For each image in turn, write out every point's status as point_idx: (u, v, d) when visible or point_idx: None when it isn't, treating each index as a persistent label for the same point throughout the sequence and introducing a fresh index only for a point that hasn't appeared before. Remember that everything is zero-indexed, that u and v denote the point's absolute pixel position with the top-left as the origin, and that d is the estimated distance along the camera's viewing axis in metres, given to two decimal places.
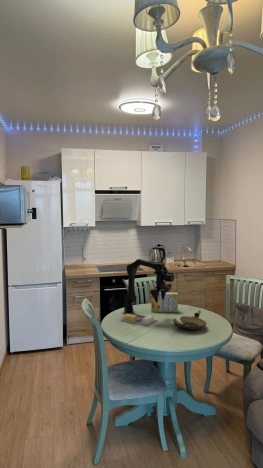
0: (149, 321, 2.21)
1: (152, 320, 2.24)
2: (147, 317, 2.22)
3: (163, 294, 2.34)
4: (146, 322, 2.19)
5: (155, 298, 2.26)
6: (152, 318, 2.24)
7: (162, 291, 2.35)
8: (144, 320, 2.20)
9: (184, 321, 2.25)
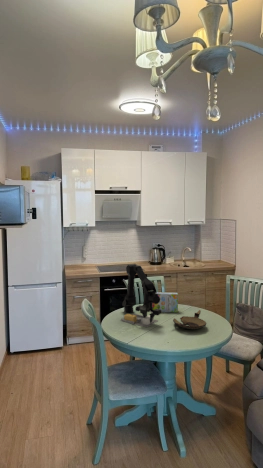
0: (149, 321, 2.21)
1: (152, 320, 2.24)
2: (147, 317, 2.22)
3: None
4: (146, 322, 2.19)
5: None
6: None
7: None
8: (144, 320, 2.20)
9: (184, 321, 2.25)
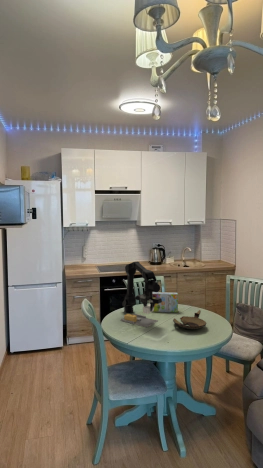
0: (149, 310, 2.20)
1: None
2: (147, 306, 2.22)
3: None
4: (146, 311, 2.19)
5: None
6: None
7: None
8: (144, 309, 2.20)
9: (184, 321, 2.25)
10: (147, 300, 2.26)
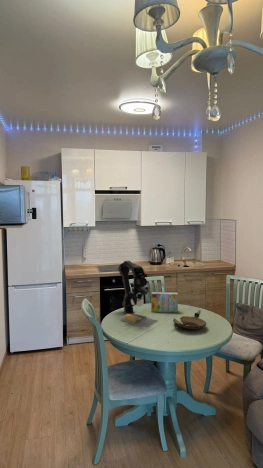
0: None
1: None
2: (138, 299, 2.32)
3: (139, 298, 2.35)
4: (142, 303, 2.32)
5: (134, 300, 2.30)
6: None
7: (138, 295, 2.35)
8: (141, 302, 2.30)
9: (184, 321, 2.25)
10: None
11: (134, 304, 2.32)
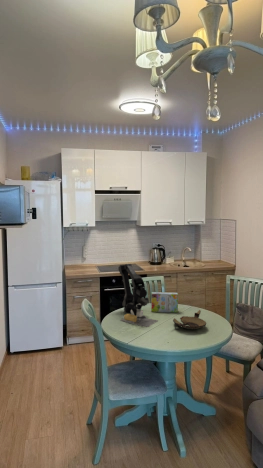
0: None
1: None
2: (137, 310, 2.33)
3: (139, 308, 2.35)
4: (142, 314, 2.32)
5: (134, 311, 2.31)
6: None
7: (138, 305, 2.36)
8: (141, 313, 2.31)
9: (184, 321, 2.25)
10: None
11: None
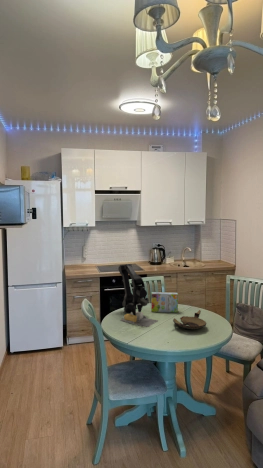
0: None
1: None
2: (137, 312, 2.33)
3: (140, 308, 2.36)
4: (142, 316, 2.32)
5: (133, 312, 2.30)
6: None
7: (139, 305, 2.37)
8: (141, 315, 2.31)
9: (184, 321, 2.25)
10: None
11: None
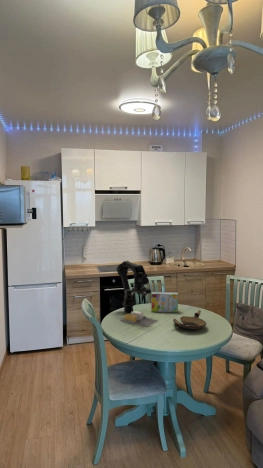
0: None
1: None
2: (137, 312, 2.33)
3: (142, 297, 2.35)
4: (142, 316, 2.32)
5: (132, 298, 2.34)
6: None
7: (142, 294, 2.36)
8: (141, 315, 2.31)
9: (184, 321, 2.25)
10: None
11: None
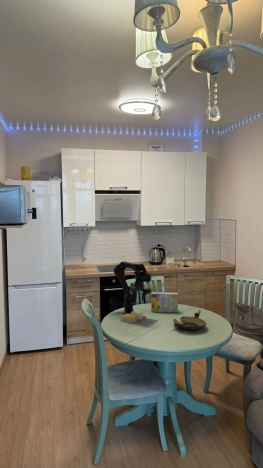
0: None
1: None
2: (137, 312, 2.33)
3: None
4: (142, 316, 2.32)
5: None
6: None
7: None
8: (141, 315, 2.31)
9: (184, 321, 2.25)
10: None
11: None
